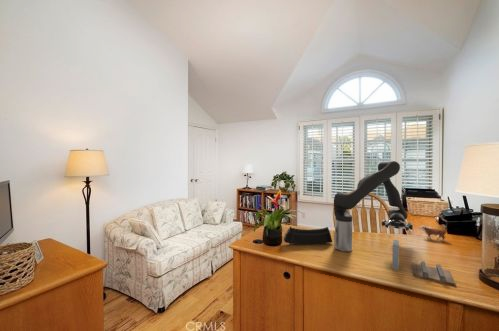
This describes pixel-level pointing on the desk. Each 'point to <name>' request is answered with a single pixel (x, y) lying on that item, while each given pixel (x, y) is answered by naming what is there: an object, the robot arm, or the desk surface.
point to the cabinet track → (433, 273)
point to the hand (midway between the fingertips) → (396, 227)
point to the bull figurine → (433, 232)
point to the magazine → (307, 236)
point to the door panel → (395, 255)
